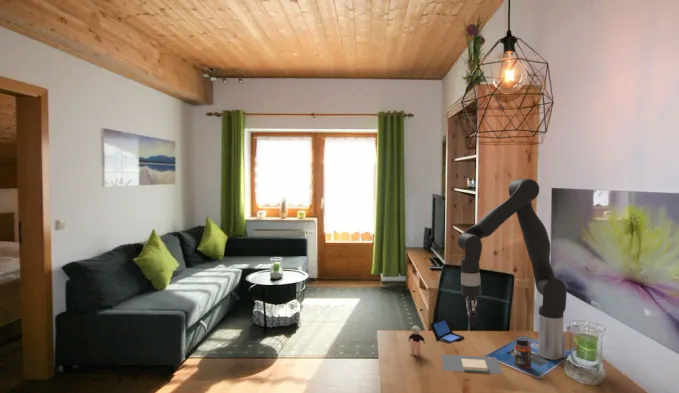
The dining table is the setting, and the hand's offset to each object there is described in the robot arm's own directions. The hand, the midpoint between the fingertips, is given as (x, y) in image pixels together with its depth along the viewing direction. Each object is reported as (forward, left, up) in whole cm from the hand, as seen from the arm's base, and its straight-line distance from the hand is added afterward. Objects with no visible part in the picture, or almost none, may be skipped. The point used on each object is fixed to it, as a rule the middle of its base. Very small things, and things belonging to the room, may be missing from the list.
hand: (471, 324), depth 169 cm
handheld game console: (+8, -22, -16) cm, 28 cm away
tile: (0, +4, -13) cm, 14 cm away
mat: (+1, +5, -15) cm, 16 cm away
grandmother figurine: (+22, -2, -15) cm, 27 cm away
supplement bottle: (-19, +3, -15) cm, 24 cm away
